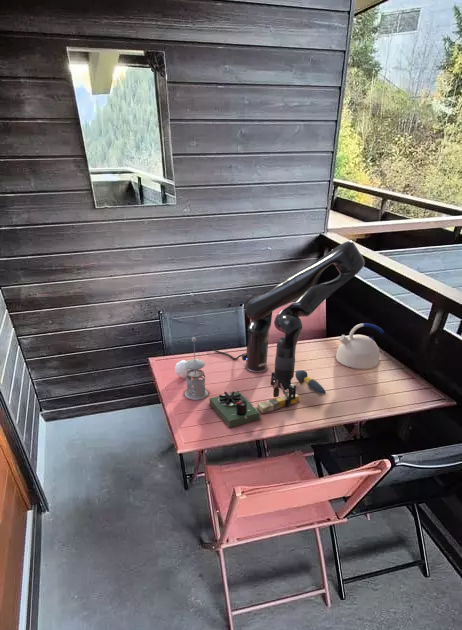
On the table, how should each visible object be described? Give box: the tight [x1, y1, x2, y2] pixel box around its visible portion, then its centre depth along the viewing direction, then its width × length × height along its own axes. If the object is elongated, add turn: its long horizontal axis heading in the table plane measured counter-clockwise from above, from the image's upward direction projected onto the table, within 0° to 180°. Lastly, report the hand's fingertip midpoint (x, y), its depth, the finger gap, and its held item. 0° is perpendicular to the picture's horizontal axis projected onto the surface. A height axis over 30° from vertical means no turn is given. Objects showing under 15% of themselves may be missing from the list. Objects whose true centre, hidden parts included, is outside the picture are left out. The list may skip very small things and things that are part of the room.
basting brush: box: [257, 393, 300, 414], centre depth 177 cm, size 17×4×3 cm, turn 117°
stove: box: [208, 390, 261, 428], centre depth 172 cm, size 19×13×3 cm
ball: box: [174, 359, 192, 379], centre depth 194 cm, size 8×8×8 cm
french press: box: [184, 337, 209, 401], centre depth 178 cm, size 10×12×25 cm
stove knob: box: [236, 400, 247, 416], centre depth 166 cm, size 4×4×5 cm
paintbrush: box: [294, 369, 326, 395], centre depth 189 cm, size 20×5×5 cm, turn 38°
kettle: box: [335, 322, 385, 370], centre depth 206 cm, size 20×21×18 cm
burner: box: [218, 391, 241, 407], centre depth 174 cm, size 9×9×2 cm
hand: (281, 401), depth 177 cm, fingers open, 8 cm apart
